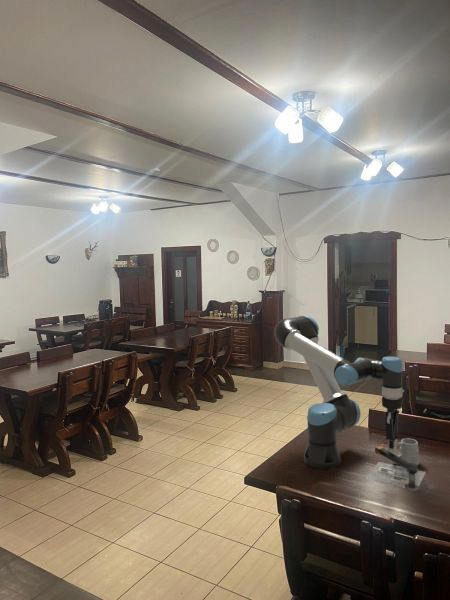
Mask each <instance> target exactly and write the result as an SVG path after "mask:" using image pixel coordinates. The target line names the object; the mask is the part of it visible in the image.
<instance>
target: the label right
mask: <svg viewBox="0 0 450 600" xmlns="http://www.w3.org/2000/svg"><path fill="white" fill-rule="evenodd" d="M390 480H392V481H396V482H400V483H404V484H407V483H408V482H409V478H405V477H400V476H396V475H393V476H392V477H391V479H390Z"/></svg>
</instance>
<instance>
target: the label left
mask: <svg viewBox="0 0 450 600" xmlns="http://www.w3.org/2000/svg"><path fill="white" fill-rule="evenodd" d="M377 472H381V473H385V474H390V475H394V474H395V472H396V470H393V469H388V468H384V467H380V468H379V469H378V471H377Z"/></svg>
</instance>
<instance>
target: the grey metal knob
mask: <svg viewBox="0 0 450 600" xmlns="http://www.w3.org/2000/svg"><path fill="white" fill-rule="evenodd" d="M405 488H406V490H409V491H413V492H417V491H419V490H420V485H419V486H417V485H415V473H409V484H406V485H405ZM405 488H404V489H405ZM416 490H417V491H416Z"/></svg>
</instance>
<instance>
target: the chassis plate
mask: <svg viewBox="0 0 450 600" xmlns="http://www.w3.org/2000/svg"><path fill="white" fill-rule="evenodd" d="M380 467H384V468H388V469H393V470H396V472H395V474H394V475H396V476H400V477H405V478H409V472H407V469H406V468H404V467H402V466H400V465H395V464H391V463H386V462H382V461H378V462H377V463H376V465H375V466H374V468H373V469H372V471H371V472H369V474H368V475H367V477H366V480H369V481H373V482H377V483H380V484H385V485H390V486H393V487H396V488H400V489H401V488H402V489H406V488H405V485H406V484H404V483H400V482H396V481H392V480H390V479H391V477H392V476H393V475H390V474H385V473H381V472H377V471H378V469H379V468H380ZM426 473H427V471H423V470H419V469H417V473H415V485H417V486H419V487H420V485H421V483H422V481H423V479H424V477H425V475H426ZM407 484H409V482H408V483H407ZM406 490H407V489H406ZM417 491H418V490H416V491H415V492H417Z"/></svg>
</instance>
